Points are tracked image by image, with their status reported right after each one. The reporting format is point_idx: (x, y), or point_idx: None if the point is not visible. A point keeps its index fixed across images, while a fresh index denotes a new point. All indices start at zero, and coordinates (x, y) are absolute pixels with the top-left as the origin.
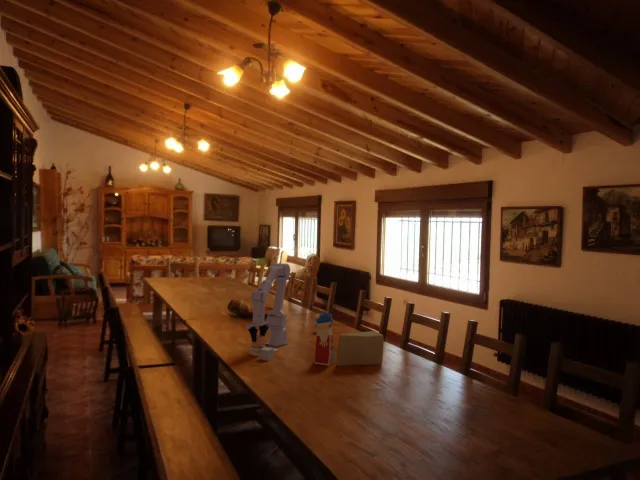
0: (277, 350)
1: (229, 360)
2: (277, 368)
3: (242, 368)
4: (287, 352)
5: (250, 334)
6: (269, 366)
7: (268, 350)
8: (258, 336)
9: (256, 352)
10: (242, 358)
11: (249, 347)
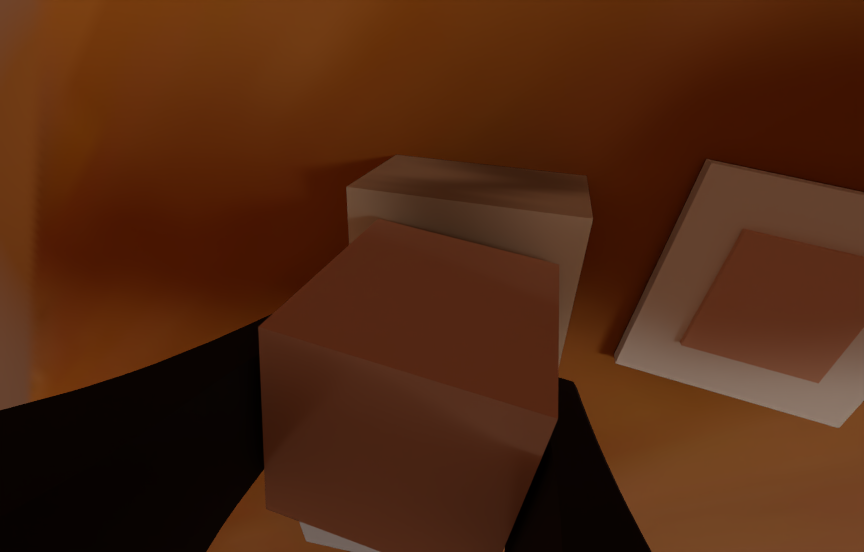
0: (797, 410)
1: (66, 128)
2: (277, 540)
3: (83, 359)
4: (766, 520)
5: (122, 378)
6: (264, 492)
7: (312, 540)
8: (348, 495)
9: None
10: (216, 205)
11: (352, 191)
